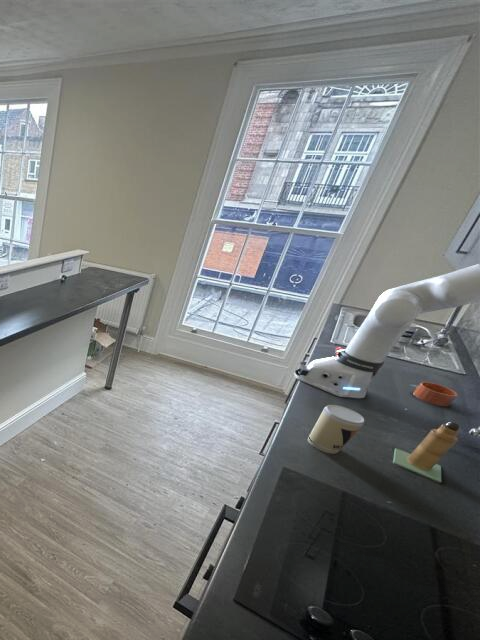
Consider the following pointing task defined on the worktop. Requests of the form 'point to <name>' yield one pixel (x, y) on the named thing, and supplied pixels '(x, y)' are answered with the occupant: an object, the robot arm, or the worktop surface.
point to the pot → (435, 393)
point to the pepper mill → (434, 446)
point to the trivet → (401, 461)
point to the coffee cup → (335, 428)
